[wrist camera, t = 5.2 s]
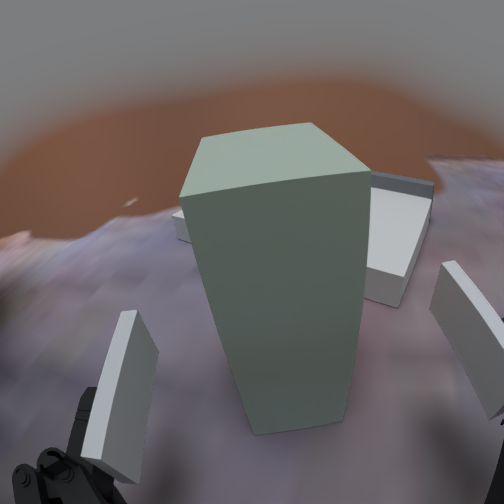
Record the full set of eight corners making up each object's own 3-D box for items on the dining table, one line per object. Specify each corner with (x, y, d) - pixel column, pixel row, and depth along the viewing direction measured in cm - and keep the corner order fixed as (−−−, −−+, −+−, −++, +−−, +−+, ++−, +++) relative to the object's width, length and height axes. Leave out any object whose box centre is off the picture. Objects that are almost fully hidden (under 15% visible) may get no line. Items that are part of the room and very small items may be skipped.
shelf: (178, 239, 35) (168, 203, 33) (258, 185, 45) (254, 156, 42) (397, 308, 22) (406, 259, 19) (430, 218, 31) (434, 181, 29)
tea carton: (254, 435, 15) (178, 197, 8) (247, 344, 21) (202, 137, 14) (343, 420, 15) (372, 170, 8) (319, 333, 21) (311, 122, 14)
